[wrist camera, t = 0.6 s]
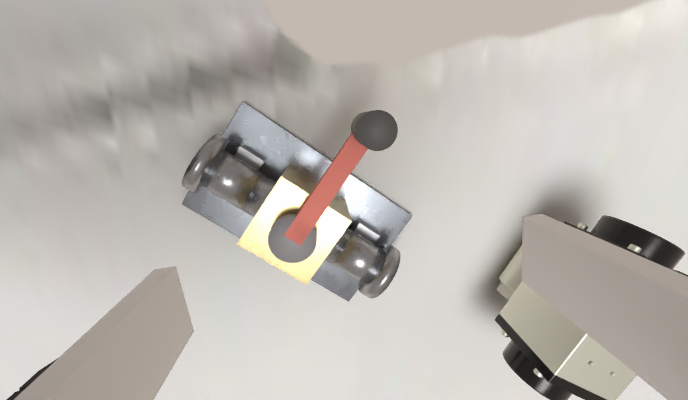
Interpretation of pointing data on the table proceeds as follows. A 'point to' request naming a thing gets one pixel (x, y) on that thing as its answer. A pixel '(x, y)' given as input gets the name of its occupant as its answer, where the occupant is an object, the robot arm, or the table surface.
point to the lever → (330, 187)
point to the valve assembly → (294, 205)
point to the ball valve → (570, 325)
